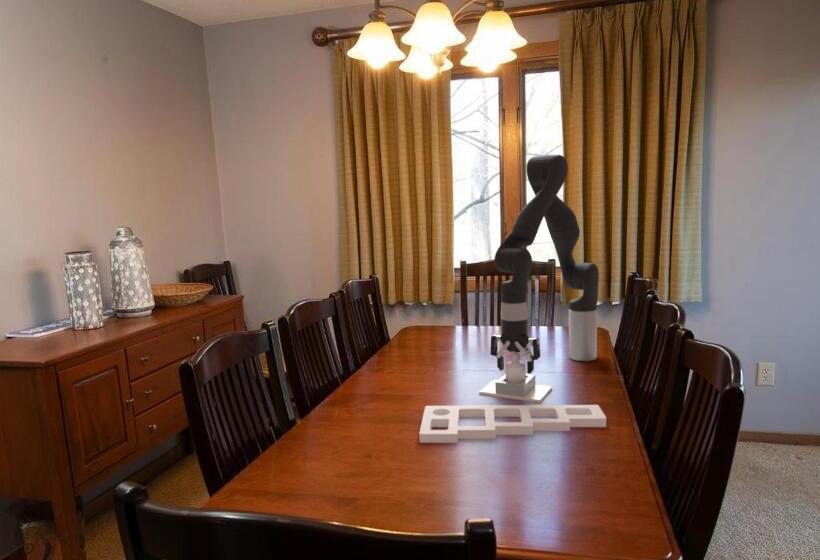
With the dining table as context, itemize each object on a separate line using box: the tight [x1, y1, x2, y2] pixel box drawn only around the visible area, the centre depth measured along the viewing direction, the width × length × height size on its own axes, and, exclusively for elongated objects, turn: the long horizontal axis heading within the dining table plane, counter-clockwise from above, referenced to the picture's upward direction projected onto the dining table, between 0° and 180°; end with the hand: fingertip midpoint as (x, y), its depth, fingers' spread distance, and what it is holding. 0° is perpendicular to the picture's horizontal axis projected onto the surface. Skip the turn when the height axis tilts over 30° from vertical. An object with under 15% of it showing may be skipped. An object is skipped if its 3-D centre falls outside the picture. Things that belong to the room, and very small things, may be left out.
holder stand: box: [478, 373, 553, 404], centre depth 160 cm, size 12×18×4 cm, turn 60°
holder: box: [418, 404, 607, 444], centre depth 136 cm, size 45×18×3 cm, turn 84°
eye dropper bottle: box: [505, 351, 527, 384], centre depth 159 cm, size 4×6×12 cm
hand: (515, 371), depth 160 cm, fingers open, 8 cm apart
